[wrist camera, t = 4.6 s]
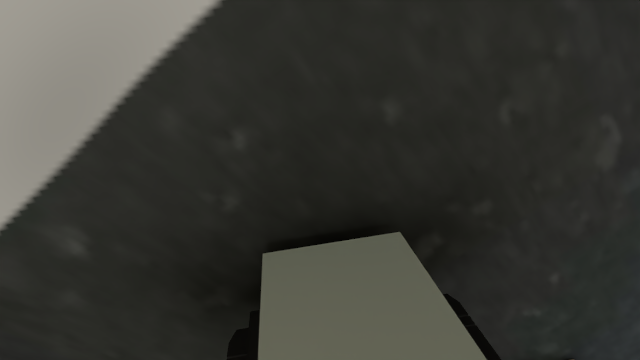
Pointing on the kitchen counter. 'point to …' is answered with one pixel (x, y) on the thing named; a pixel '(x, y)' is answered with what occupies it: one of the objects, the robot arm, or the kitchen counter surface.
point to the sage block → (356, 305)
